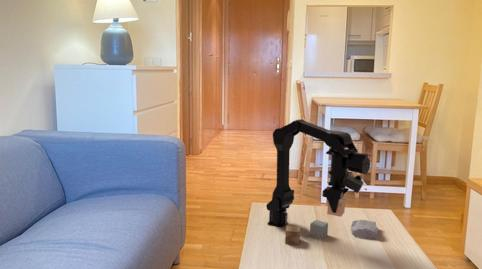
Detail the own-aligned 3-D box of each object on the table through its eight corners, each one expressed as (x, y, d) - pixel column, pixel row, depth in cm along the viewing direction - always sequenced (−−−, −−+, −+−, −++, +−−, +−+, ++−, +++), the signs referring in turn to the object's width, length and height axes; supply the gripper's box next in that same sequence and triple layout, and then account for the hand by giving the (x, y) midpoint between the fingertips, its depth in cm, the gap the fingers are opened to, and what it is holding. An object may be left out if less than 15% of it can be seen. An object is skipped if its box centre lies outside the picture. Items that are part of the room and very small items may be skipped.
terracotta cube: (327, 214, 146) (328, 200, 145) (330, 209, 150) (331, 196, 149) (341, 216, 144) (342, 203, 143) (344, 212, 148) (345, 199, 147)
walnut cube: (285, 243, 149) (285, 230, 148) (286, 238, 154) (286, 225, 153) (298, 245, 148) (299, 232, 147) (299, 239, 153) (300, 226, 152)
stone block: (352, 242, 156) (380, 240, 154) (351, 230, 155) (378, 227, 153) (350, 231, 167) (376, 228, 165) (349, 219, 167) (374, 217, 165)
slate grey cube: (309, 235, 156) (310, 223, 155) (315, 231, 160) (316, 219, 159) (321, 239, 153) (322, 226, 152) (327, 235, 157) (328, 222, 156)
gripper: (357, 177, 132) (353, 223, 135) (367, 165, 149) (363, 206, 152) (323, 173, 137) (320, 217, 140) (336, 161, 154) (333, 201, 156)
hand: (335, 210), depth 147 cm, fingers closed on terracotta cube, 5 cm apart
